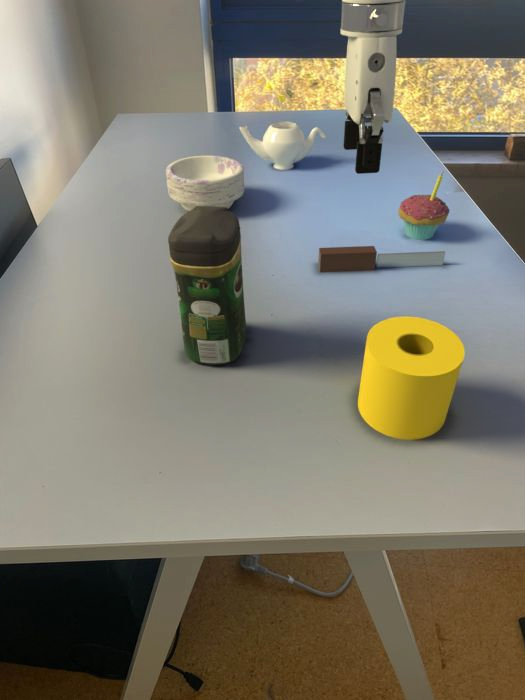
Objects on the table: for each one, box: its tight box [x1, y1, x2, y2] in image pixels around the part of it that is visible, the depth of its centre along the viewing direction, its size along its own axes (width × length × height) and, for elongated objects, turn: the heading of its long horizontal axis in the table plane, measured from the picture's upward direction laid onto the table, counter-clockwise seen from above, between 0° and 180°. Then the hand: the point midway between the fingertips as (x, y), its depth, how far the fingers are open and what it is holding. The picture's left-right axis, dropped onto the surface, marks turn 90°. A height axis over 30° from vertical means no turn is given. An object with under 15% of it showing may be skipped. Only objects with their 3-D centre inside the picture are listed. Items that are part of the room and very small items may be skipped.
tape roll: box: [357, 316, 466, 441], centre depth 57 cm, size 10×10×9 cm
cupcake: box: [398, 170, 451, 241], centre depth 90 cm, size 9×8×12 cm
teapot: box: [239, 121, 328, 171], centre depth 119 cm, size 10×20×9 cm, turn 92°
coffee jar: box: [167, 206, 247, 366], centre depth 64 cm, size 10×8×19 cm
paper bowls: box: [165, 154, 245, 212], centre depth 103 cm, size 15×15×8 cm
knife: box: [317, 245, 446, 273], centre depth 84 cm, size 20×2×3 cm, turn 92°
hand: (360, 160), depth 74 cm, fingers open, 9 cm apart
